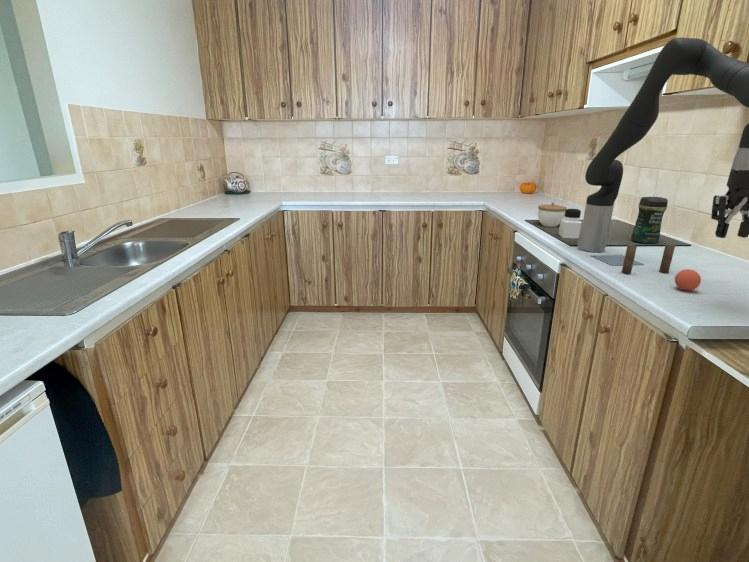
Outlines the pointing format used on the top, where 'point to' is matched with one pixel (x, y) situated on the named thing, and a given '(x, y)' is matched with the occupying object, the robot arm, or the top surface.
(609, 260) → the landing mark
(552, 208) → the white lidded pot
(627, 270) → the post
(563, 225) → the medicine bottle
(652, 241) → the coffee jar
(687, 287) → the ball
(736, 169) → the robot arm
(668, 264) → the post
